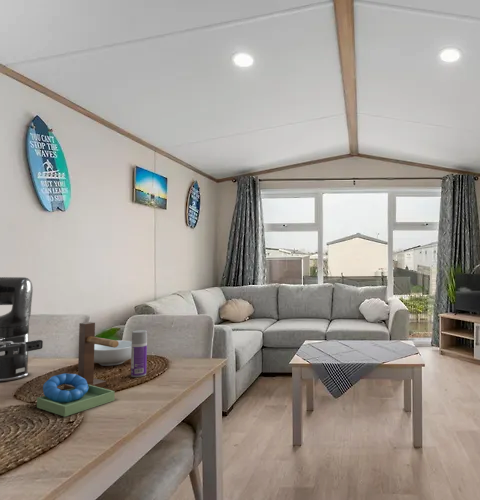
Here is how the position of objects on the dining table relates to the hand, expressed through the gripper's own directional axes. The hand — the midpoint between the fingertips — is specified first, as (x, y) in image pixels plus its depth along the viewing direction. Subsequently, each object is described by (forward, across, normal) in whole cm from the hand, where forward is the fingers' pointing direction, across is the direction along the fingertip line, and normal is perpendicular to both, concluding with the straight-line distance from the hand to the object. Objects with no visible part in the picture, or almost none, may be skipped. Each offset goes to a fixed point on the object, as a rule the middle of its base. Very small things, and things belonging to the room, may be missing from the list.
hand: (32, 342), depth 99 cm
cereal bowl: (+41, +31, +20) cm, 55 cm away
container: (+36, +9, +20) cm, 42 cm away
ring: (+11, +5, +16) cm, 19 cm away
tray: (+11, 0, +19) cm, 22 cm away
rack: (+20, +6, +19) cm, 28 cm away
